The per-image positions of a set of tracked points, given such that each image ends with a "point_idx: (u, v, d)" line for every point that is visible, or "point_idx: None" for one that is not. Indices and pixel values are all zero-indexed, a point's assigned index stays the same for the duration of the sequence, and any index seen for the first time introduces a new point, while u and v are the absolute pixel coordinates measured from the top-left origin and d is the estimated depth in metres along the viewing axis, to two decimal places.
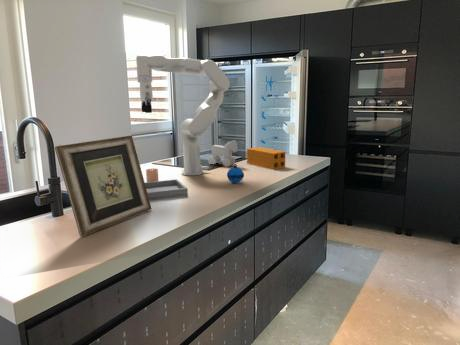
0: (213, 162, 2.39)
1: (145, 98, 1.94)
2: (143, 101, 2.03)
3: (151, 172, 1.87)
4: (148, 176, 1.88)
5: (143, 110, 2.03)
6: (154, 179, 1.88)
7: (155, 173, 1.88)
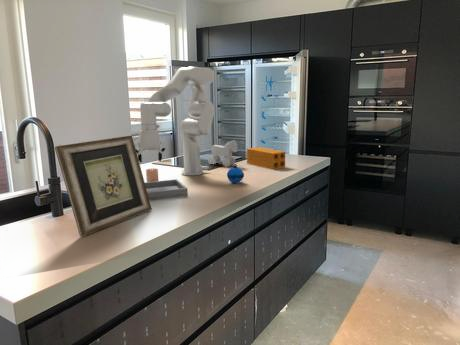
0: (213, 162, 2.39)
1: None
2: (138, 151, 1.85)
3: (151, 172, 1.87)
4: (148, 176, 1.88)
5: (141, 160, 1.86)
6: (154, 179, 1.88)
7: (155, 173, 1.88)
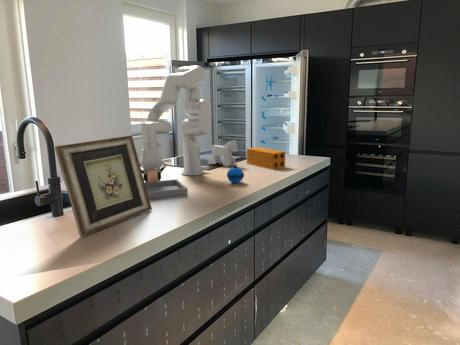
0: (213, 162, 2.39)
1: None
2: (143, 170, 1.88)
3: (151, 172, 1.87)
4: (148, 176, 1.88)
5: None
6: (154, 179, 1.88)
7: (155, 173, 1.88)
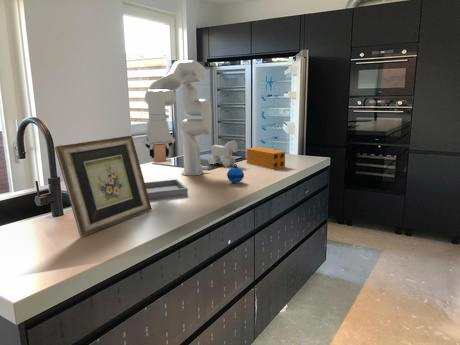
0: (213, 162, 2.39)
1: None
2: (149, 144, 1.69)
3: (158, 147, 1.68)
4: (155, 151, 1.69)
5: None
6: (161, 155, 1.69)
7: (162, 148, 1.69)
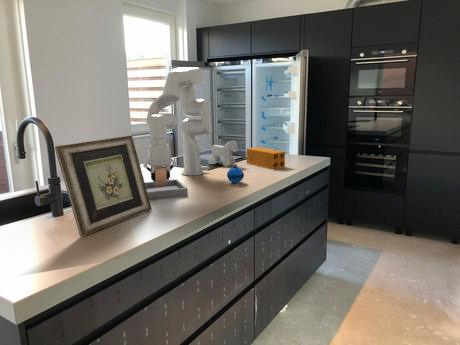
0: (213, 162, 2.39)
1: None
2: (151, 168, 1.71)
3: (159, 170, 1.70)
4: (156, 174, 1.71)
5: (154, 179, 1.72)
6: (162, 178, 1.71)
7: (164, 171, 1.71)
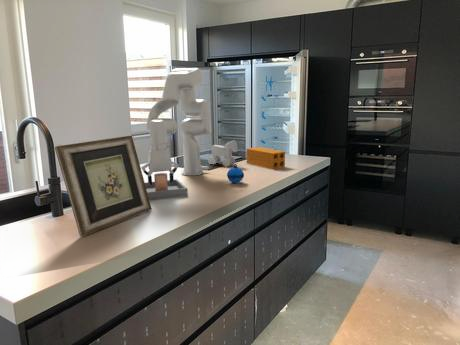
0: (213, 162, 2.39)
1: None
2: (148, 172, 1.71)
3: (160, 177, 1.71)
4: (157, 181, 1.72)
5: (151, 182, 1.72)
6: (163, 185, 1.72)
7: (164, 178, 1.72)
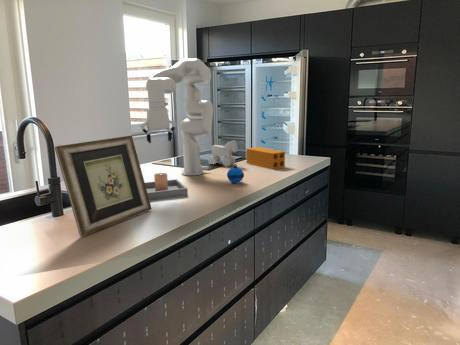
0: (213, 162, 2.39)
1: None
2: None
3: (160, 177, 1.71)
4: (157, 181, 1.72)
5: (150, 141, 1.75)
6: (163, 185, 1.72)
7: (164, 178, 1.72)
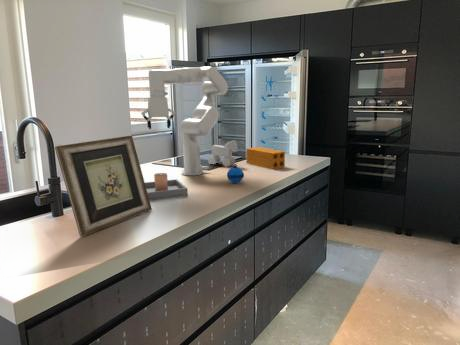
0: (213, 162, 2.39)
1: None
2: None
3: (160, 177, 1.71)
4: (157, 181, 1.72)
5: (150, 127, 1.90)
6: (163, 185, 1.72)
7: (164, 178, 1.72)
